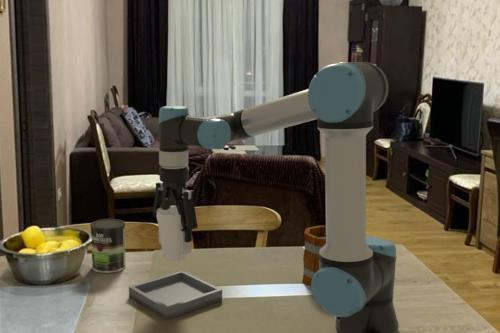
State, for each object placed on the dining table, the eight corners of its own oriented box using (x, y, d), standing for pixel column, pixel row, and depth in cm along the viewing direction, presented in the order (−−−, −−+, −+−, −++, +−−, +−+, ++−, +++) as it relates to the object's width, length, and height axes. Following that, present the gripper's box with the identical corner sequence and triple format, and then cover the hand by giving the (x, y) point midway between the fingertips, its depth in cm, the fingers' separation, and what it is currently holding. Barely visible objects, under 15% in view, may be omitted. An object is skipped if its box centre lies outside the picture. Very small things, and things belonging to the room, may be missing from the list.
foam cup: (186, 264, 154) (185, 216, 151) (152, 261, 156) (151, 213, 153) (196, 252, 163) (196, 206, 160) (164, 249, 165) (163, 204, 162)
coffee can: (115, 275, 177) (114, 230, 174) (85, 271, 180) (83, 226, 177) (132, 263, 187) (131, 220, 184) (103, 259, 190) (101, 217, 187)
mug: (308, 291, 167) (310, 240, 164) (296, 273, 180) (297, 226, 177) (374, 287, 171) (377, 237, 168) (357, 270, 184) (360, 223, 181)
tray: (222, 300, 161) (222, 289, 160) (167, 319, 149) (166, 308, 148) (182, 280, 174) (182, 270, 173) (129, 297, 162) (128, 286, 161)
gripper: (212, 171, 149) (211, 256, 153) (161, 157, 164) (162, 234, 169) (187, 175, 144) (188, 262, 148) (138, 160, 159) (140, 240, 164)
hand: (174, 248), depth 159 cm, fingers closed on foam cup, 9 cm apart
